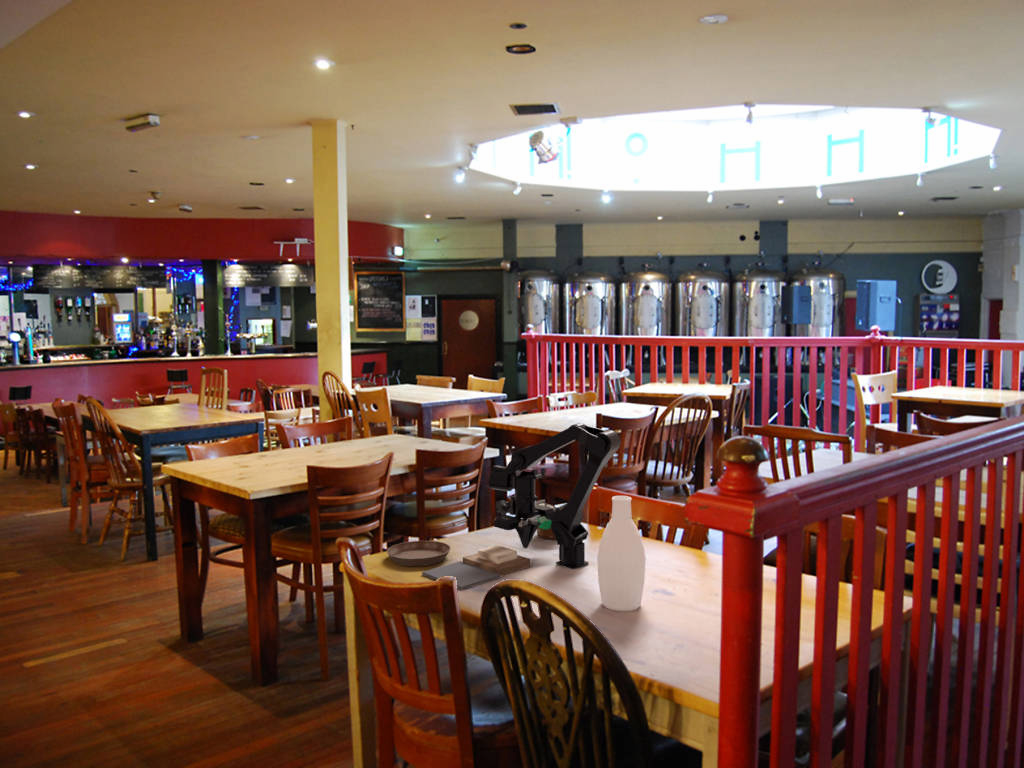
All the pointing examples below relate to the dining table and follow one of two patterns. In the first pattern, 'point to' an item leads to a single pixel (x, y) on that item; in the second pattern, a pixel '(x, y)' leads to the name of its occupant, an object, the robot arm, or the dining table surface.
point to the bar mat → (462, 574)
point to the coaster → (497, 554)
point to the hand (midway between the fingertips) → (525, 547)
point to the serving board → (498, 568)
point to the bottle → (621, 560)
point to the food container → (545, 523)
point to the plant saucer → (418, 553)
